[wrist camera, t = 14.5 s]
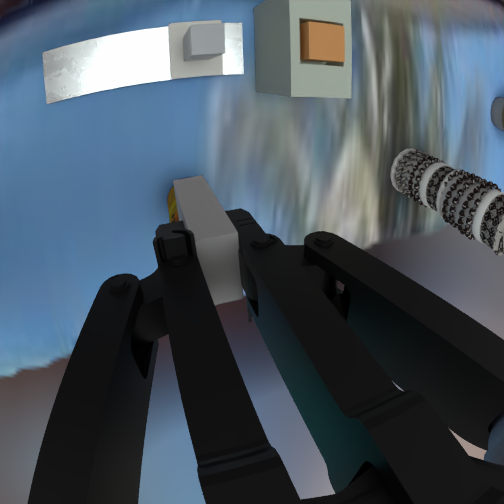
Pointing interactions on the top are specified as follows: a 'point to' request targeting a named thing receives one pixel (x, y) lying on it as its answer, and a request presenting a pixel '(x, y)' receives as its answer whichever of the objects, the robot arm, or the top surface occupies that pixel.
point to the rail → (122, 62)
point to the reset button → (322, 42)
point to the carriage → (196, 48)
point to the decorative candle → (452, 196)
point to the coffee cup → (498, 113)
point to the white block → (288, 49)
